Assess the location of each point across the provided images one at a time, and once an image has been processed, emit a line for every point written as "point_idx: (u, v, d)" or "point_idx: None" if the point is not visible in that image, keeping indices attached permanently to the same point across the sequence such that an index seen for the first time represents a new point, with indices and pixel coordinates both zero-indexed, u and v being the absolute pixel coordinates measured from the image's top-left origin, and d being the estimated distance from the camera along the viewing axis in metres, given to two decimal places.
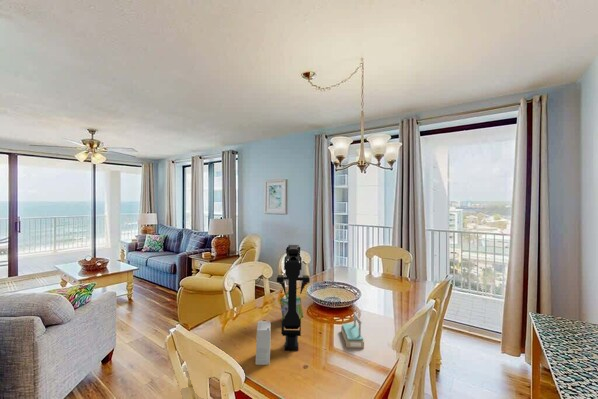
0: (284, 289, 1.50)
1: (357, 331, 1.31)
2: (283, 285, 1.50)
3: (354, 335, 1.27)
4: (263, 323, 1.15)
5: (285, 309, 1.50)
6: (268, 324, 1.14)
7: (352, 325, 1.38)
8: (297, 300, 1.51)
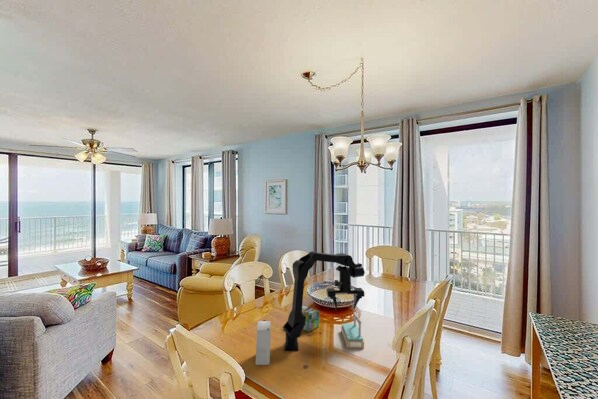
0: (335, 304, 1.34)
1: (357, 331, 1.31)
2: (335, 300, 1.33)
3: (354, 335, 1.27)
4: (263, 323, 1.15)
5: None
6: (268, 324, 1.14)
7: (352, 325, 1.38)
8: None
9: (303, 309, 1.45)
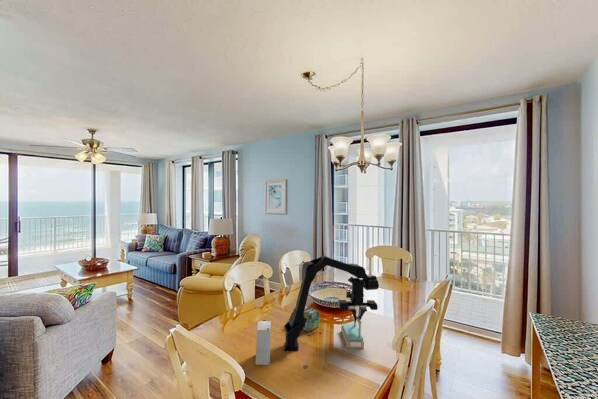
0: (355, 317, 1.30)
1: (357, 331, 1.31)
2: (354, 312, 1.29)
3: (354, 335, 1.27)
4: (263, 323, 1.15)
5: None
6: (268, 324, 1.14)
7: (352, 325, 1.38)
8: None
9: None
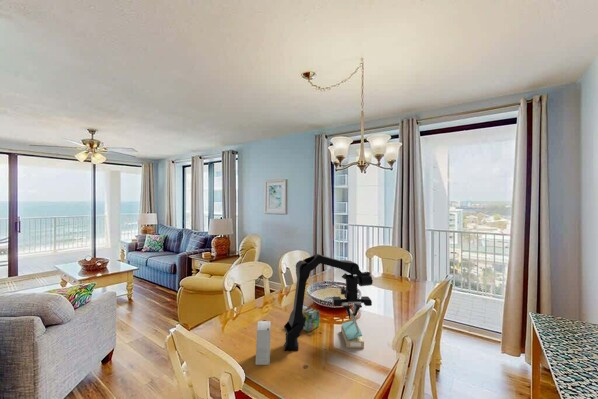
0: (349, 313, 1.30)
1: (356, 327, 1.31)
2: (348, 309, 1.29)
3: (353, 333, 1.27)
4: (263, 323, 1.15)
5: None
6: (268, 324, 1.14)
7: (351, 322, 1.38)
8: None
9: (303, 309, 1.45)
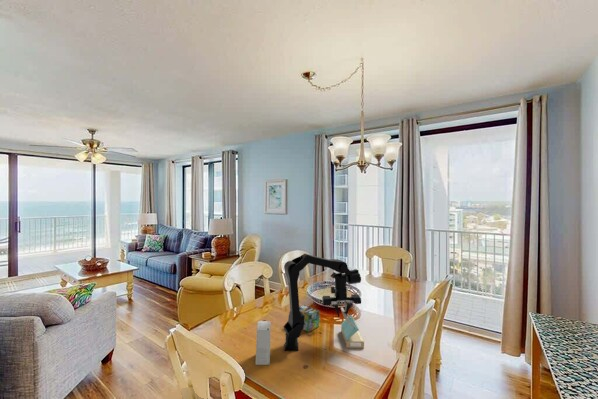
0: (338, 312, 1.30)
1: (352, 323, 1.31)
2: (336, 308, 1.29)
3: (350, 330, 1.27)
4: (263, 323, 1.15)
5: None
6: (268, 324, 1.14)
7: (348, 319, 1.38)
8: None
9: (303, 309, 1.45)
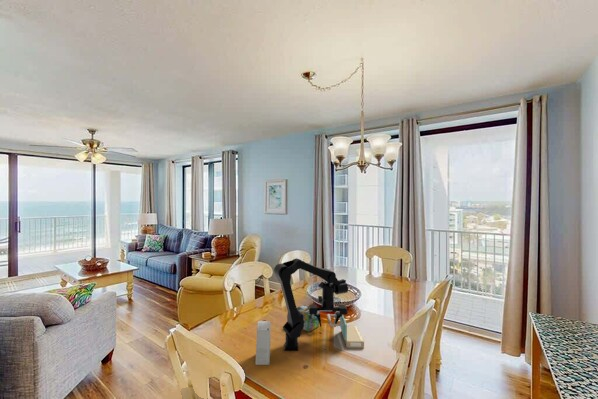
0: (320, 322, 1.30)
1: (342, 320, 1.31)
2: (319, 317, 1.29)
3: (344, 329, 1.27)
4: (263, 323, 1.15)
5: None
6: (268, 324, 1.14)
7: (340, 317, 1.38)
8: None
9: (303, 309, 1.45)
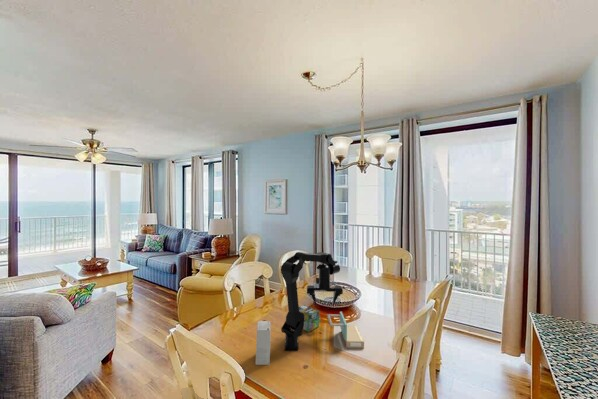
0: (315, 301, 1.39)
1: (342, 320, 1.31)
2: (314, 297, 1.38)
3: (344, 329, 1.27)
4: (263, 323, 1.15)
5: None
6: (268, 324, 1.14)
7: (340, 317, 1.38)
8: None
9: (303, 309, 1.45)
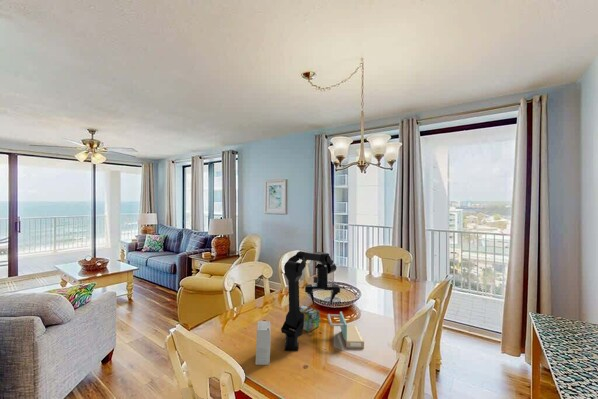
0: (313, 299, 1.42)
1: (342, 320, 1.31)
2: (312, 295, 1.41)
3: (344, 329, 1.27)
4: (263, 323, 1.15)
5: None
6: (268, 324, 1.14)
7: (340, 317, 1.38)
8: None
9: (303, 309, 1.45)
